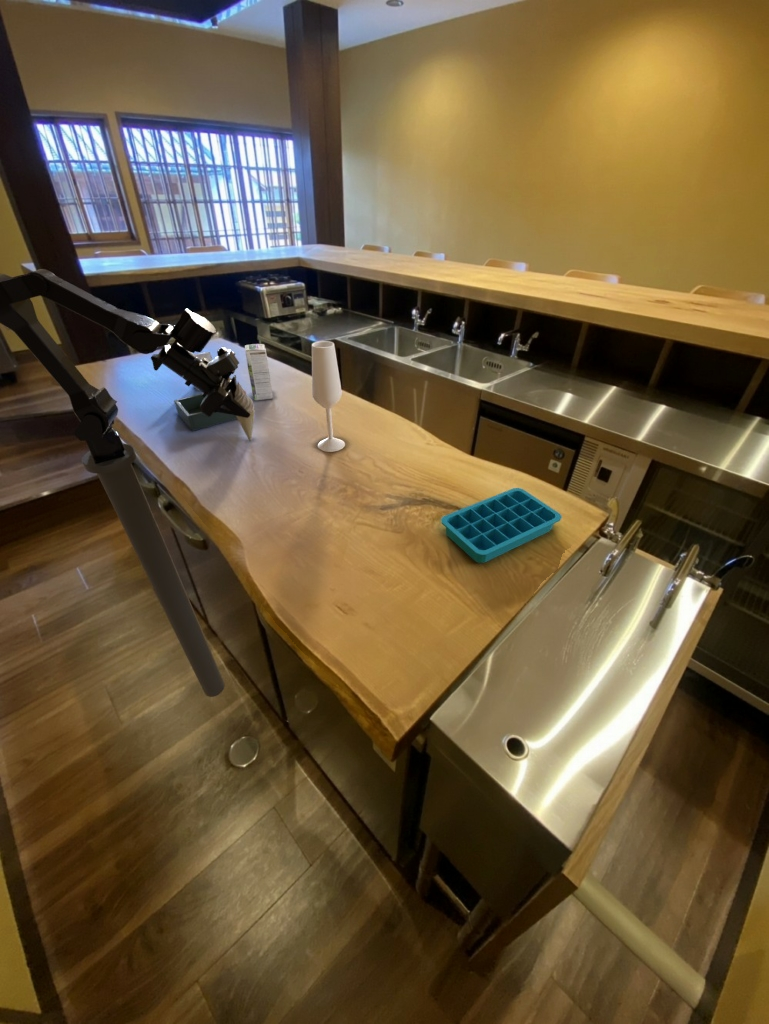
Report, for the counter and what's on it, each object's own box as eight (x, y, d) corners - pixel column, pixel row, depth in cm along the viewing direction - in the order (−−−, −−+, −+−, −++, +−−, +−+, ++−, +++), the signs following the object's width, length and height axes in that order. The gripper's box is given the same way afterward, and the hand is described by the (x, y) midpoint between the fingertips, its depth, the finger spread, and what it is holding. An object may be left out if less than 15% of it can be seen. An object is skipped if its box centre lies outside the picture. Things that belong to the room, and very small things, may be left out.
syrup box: (252, 393, 129) (243, 344, 120) (272, 391, 131) (264, 343, 122) (253, 401, 125) (244, 350, 116) (274, 398, 126) (266, 348, 117)
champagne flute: (350, 445, 104) (345, 344, 89) (328, 454, 100) (318, 351, 86) (334, 435, 108) (326, 337, 93) (312, 444, 104) (300, 343, 90)
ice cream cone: (252, 433, 109) (240, 375, 100) (264, 439, 106) (254, 381, 97) (235, 440, 106) (222, 381, 96) (248, 447, 103) (235, 387, 94)
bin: (192, 431, 110) (187, 416, 107) (178, 414, 118) (173, 400, 115) (239, 418, 116) (235, 404, 113) (222, 403, 124) (219, 389, 121)
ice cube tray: (436, 531, 78) (437, 518, 77) (515, 498, 87) (518, 486, 85) (478, 569, 71) (481, 556, 69) (560, 529, 79) (565, 517, 77)
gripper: (202, 353, 83) (268, 403, 91) (217, 328, 98) (273, 373, 106) (172, 393, 87) (238, 438, 95) (190, 363, 102) (246, 404, 110)
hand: (250, 411), depth 101 cm, fingers closed on ice cream cone, 5 cm apart
